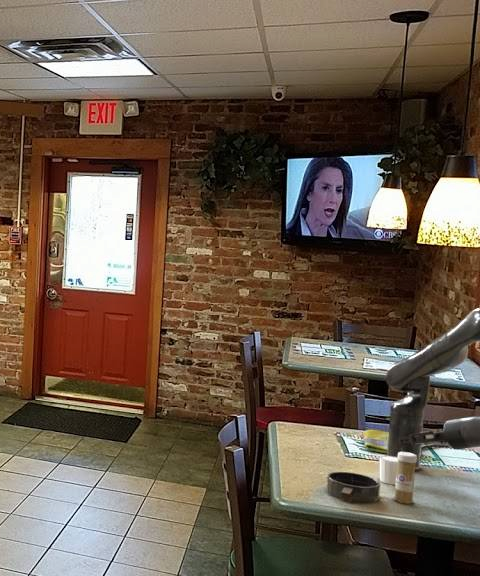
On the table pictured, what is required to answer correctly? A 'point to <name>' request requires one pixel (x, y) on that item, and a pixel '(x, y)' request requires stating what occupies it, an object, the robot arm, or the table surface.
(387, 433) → the dish towel
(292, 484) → the table surface
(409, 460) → the sprinkles bottle
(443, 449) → the table surface
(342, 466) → the table surface
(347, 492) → the pan handle
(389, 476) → the white cup
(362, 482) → the pan
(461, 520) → the table surface
